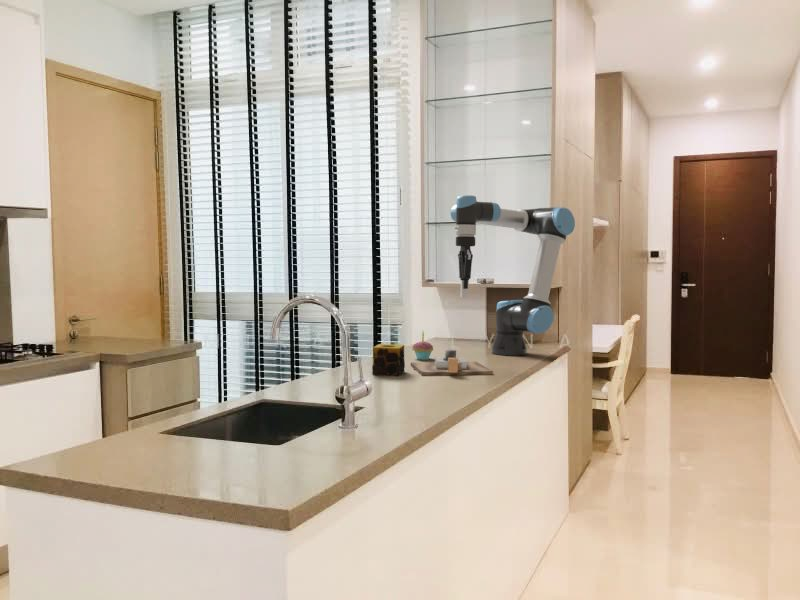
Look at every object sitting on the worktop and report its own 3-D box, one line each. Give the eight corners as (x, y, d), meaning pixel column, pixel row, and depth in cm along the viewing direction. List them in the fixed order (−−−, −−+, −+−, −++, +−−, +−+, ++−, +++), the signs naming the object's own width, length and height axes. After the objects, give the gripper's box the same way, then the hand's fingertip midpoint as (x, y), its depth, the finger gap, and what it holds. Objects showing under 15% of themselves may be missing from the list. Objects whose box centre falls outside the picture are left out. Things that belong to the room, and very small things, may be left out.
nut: (435, 363, 275) (435, 351, 275) (464, 364, 275) (464, 351, 275) (437, 372, 256) (437, 358, 255) (468, 372, 255) (468, 359, 255)
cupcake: (433, 360, 291) (433, 331, 290) (412, 360, 291) (412, 330, 290) (432, 357, 299) (433, 328, 299) (412, 357, 300) (412, 328, 299)
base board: (476, 364, 283) (476, 346, 282) (492, 374, 261) (493, 354, 260) (410, 365, 278) (410, 346, 278) (422, 375, 257) (422, 355, 256)
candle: (399, 376, 255) (400, 348, 254) (371, 375, 257) (372, 347, 256) (405, 371, 265) (405, 344, 264) (378, 370, 267) (378, 343, 266)
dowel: (460, 370, 262) (461, 361, 262) (462, 371, 260) (462, 362, 260) (455, 370, 262) (455, 362, 261) (456, 371, 260) (457, 362, 259)
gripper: (452, 236, 285) (450, 295, 287) (460, 235, 272) (459, 298, 274) (470, 236, 286) (469, 296, 288) (479, 235, 273) (478, 298, 275)
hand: (464, 297), depth 281 cm, fingers closed
